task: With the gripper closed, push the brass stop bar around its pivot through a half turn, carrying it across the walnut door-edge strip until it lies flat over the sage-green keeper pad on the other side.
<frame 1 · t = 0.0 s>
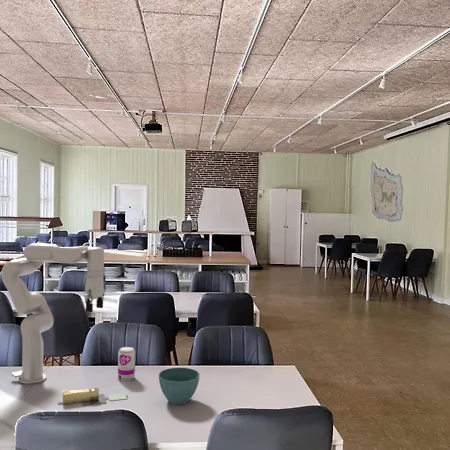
hand: (94, 309, 232), 37 cm above the table, tool pointing down, fingers open, 9 cm apart
teal round bowl: (178, 401, 221), on the table
keeper pad: (117, 397, 223), on the table
stop bar: (81, 395, 217), point 3 cm above the table, hinge at 180.0°
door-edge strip: (93, 399, 219), on the table
lock base plate: (93, 399, 219), on the table
supplement can: (126, 378, 247), on the table
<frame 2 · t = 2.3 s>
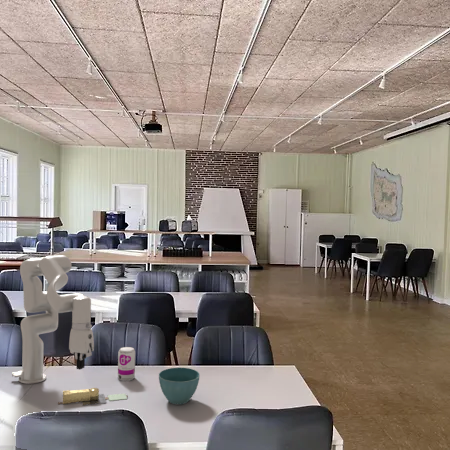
hand: (80, 368, 210), 17 cm above the table, tool pointing down, fingers closed
nothing on the table moved.
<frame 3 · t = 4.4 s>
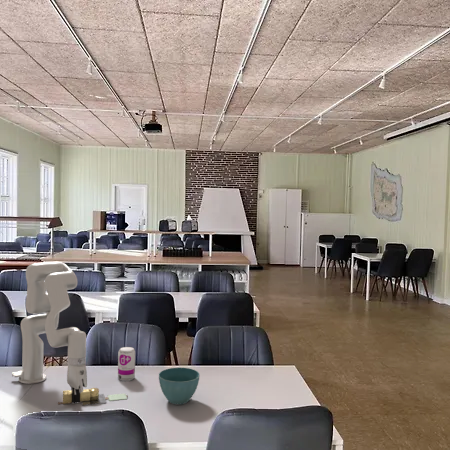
hand: (75, 402, 213), 1 cm above the table, tool pointing down, fingers closed
stop bar: (81, 395, 217), point 3 cm above the table, hinge at 179.9°, touching gripper
everything else where it was.
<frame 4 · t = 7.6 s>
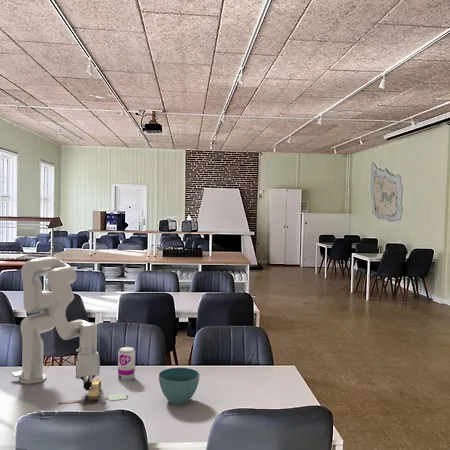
hand: (87, 389, 226), 2 cm above the table, tool pointing down, fingers closed
stop bar: (94, 389, 224), point 3 cm above the table, hinge at 79.1°, touching gripper
everything else where it was.
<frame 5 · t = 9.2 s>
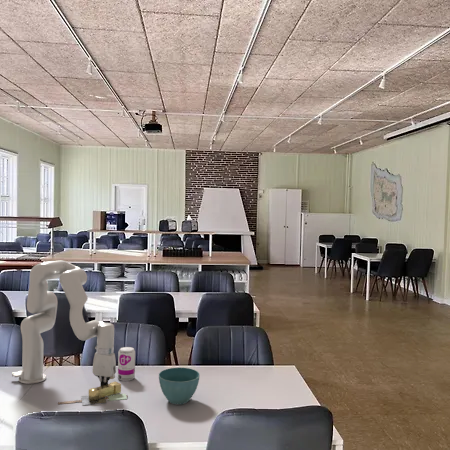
hand: (104, 389, 228), 2 cm above the table, tool pointing down, fingers closed
stop bar: (104, 391, 223), point 3 cm above the table, hinge at 26.8°, touching gripper
everything else where it was.
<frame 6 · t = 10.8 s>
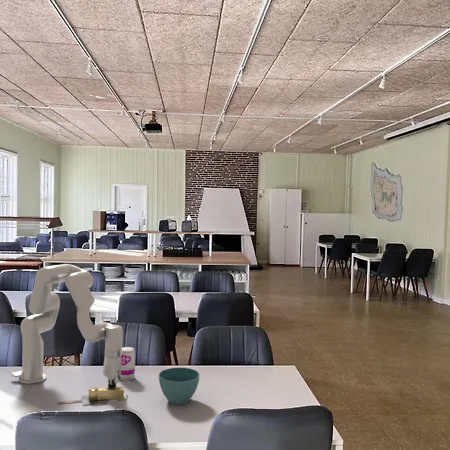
hand: (111, 392, 225), 2 cm above the table, tool pointing down, fingers closed
stop bar: (106, 393, 220), point 3 cm above the table, hinge at -6.7°, touching gripper
everything else where it was.
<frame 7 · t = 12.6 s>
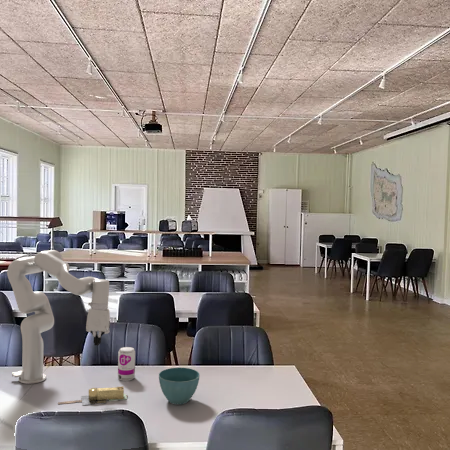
hand: (97, 344, 230), 21 cm above the table, tool pointing down, fingers closed
stop bar: (106, 393, 220), point 3 cm above the table, hinge at -6.7°
everything else where it was.
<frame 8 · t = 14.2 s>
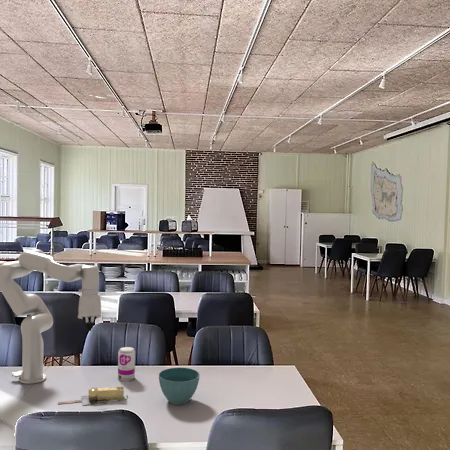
hand: (89, 330, 234), 27 cm above the table, tool pointing down, fingers closed
nothing on the table moved.
at the end: stop bar at -7° (first picture: +180°) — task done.
